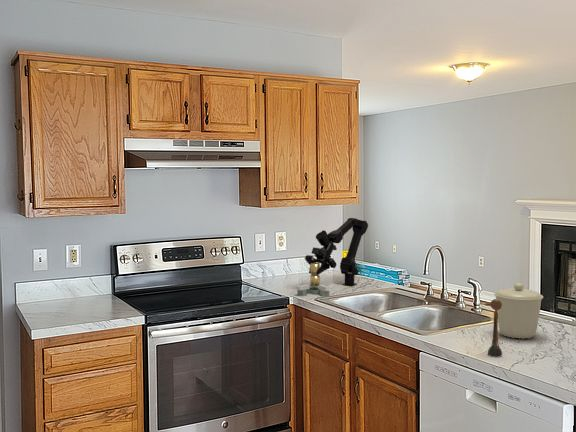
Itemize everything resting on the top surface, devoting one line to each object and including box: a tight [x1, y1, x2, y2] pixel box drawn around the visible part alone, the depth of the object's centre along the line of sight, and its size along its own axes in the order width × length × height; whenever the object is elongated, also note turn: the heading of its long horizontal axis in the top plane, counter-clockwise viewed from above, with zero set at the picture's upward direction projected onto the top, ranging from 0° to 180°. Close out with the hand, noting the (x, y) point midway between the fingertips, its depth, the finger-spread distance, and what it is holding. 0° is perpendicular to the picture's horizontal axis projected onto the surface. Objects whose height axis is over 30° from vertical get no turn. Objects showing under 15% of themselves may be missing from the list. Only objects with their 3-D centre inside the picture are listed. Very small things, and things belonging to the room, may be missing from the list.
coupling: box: [309, 262, 321, 287], centre depth 328 cm, size 5×5×12 cm
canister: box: [494, 282, 544, 340], centre depth 239 cm, size 18×18×21 cm
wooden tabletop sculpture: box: [485, 298, 503, 357], centre depth 214 cm, size 6×5×20 cm
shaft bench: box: [296, 283, 330, 297], centre depth 322 cm, size 18×17×5 cm
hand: (313, 273), depth 327 cm, fingers closed on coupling, 5 cm apart
